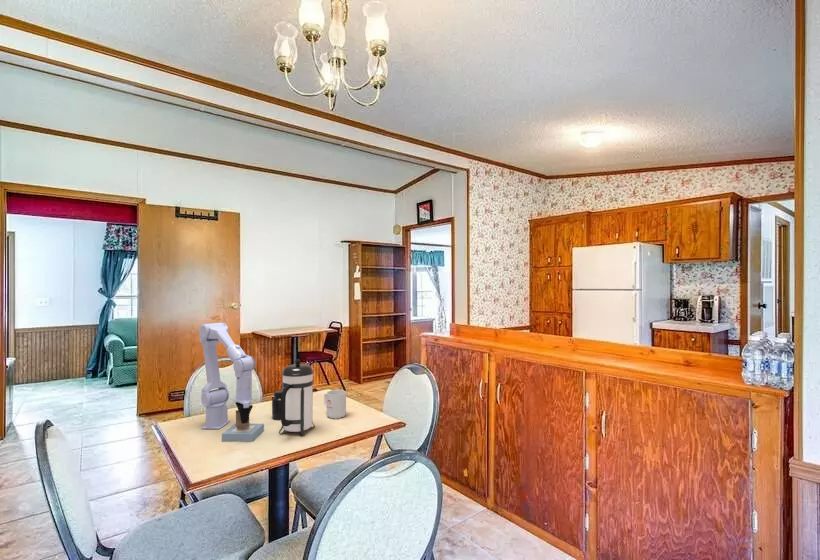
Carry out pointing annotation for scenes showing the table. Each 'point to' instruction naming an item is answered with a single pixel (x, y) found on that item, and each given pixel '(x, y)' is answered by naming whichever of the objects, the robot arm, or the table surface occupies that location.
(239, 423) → the walnut block
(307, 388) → the coffee press
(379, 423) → the table surface
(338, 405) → the mug
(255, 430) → the slate plinth
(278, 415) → the supplement bottle
